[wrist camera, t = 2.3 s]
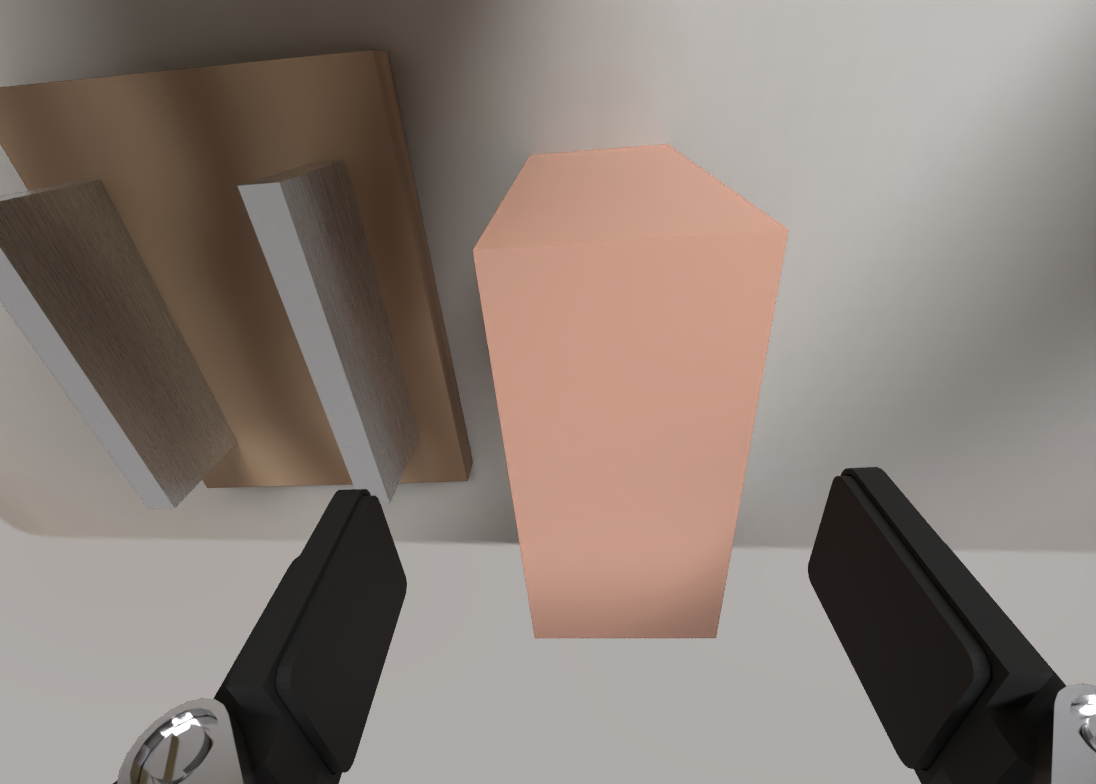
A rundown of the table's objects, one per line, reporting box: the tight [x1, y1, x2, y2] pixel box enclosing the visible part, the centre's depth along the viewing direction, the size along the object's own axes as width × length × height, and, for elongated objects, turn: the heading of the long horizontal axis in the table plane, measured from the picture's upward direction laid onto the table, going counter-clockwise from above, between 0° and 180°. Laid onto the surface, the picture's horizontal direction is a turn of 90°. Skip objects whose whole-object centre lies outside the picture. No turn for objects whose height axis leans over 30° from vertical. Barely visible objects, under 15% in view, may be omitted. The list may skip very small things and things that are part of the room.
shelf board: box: [0, 50, 472, 488], centre depth 21 cm, size 14×18×2 cm
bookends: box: [0, 160, 420, 509], centre depth 19 cm, size 10×12×4 cm
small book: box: [473, 144, 789, 638], centre depth 16 cm, size 5×11×12 cm, turn 5°
